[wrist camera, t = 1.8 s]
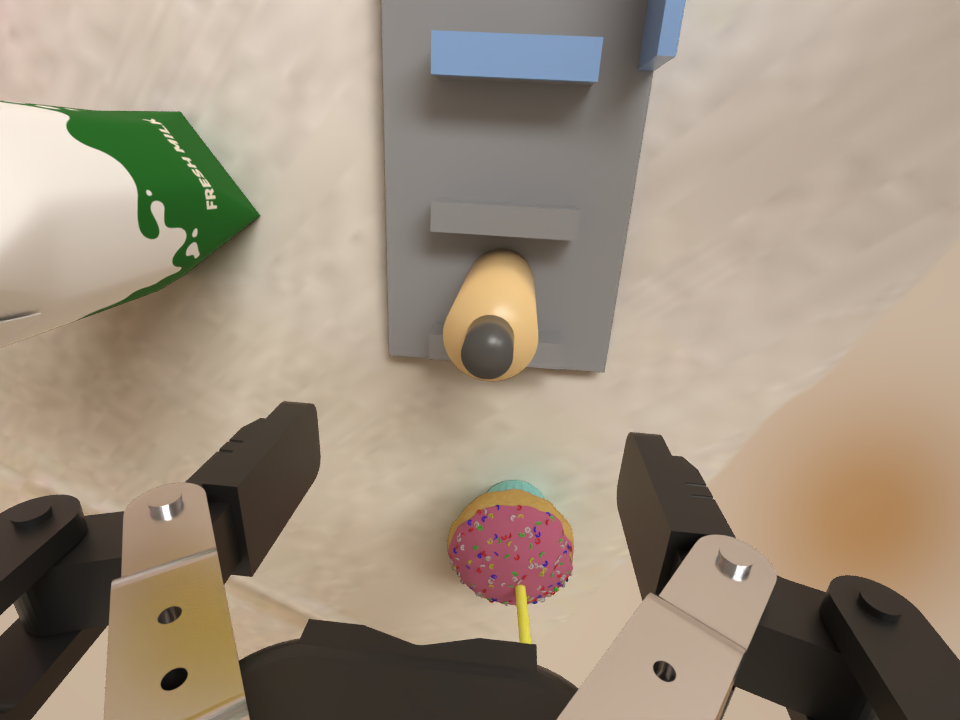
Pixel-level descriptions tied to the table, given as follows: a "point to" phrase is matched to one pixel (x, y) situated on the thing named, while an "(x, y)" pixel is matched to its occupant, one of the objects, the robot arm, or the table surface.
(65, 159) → the milk carton
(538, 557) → the cupcake
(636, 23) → the slotted grey board
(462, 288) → the yellow bottle
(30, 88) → the table surface
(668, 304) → the table surface
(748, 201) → the table surface
